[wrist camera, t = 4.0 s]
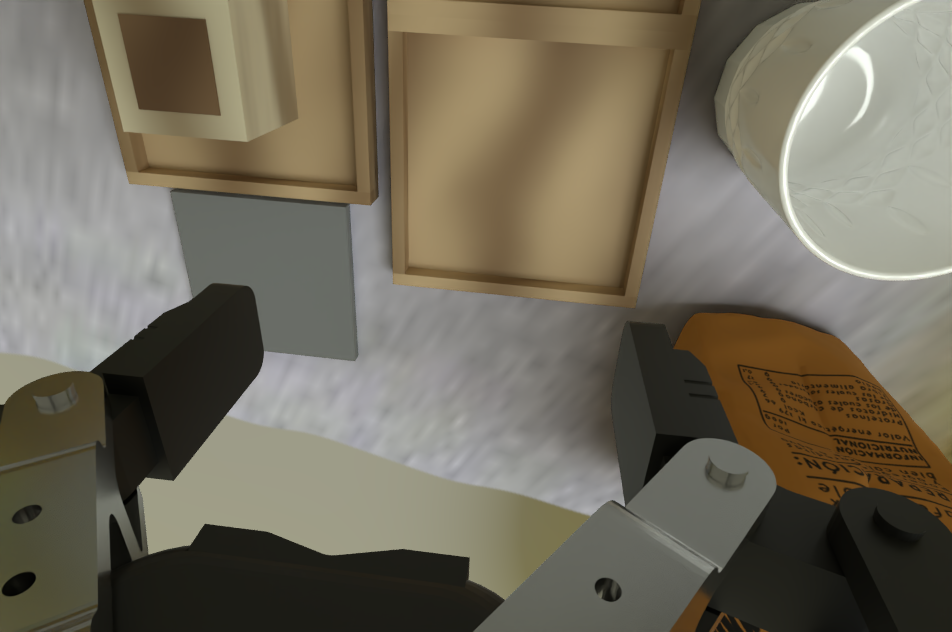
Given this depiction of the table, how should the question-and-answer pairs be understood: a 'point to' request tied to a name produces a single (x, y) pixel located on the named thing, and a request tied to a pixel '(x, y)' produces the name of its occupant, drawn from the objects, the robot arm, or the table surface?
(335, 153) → the tray
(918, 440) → the coffee package
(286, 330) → the slate tile
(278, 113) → the letter cube
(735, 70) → the white cup
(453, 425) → the table surface
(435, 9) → the tray
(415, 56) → the tray
